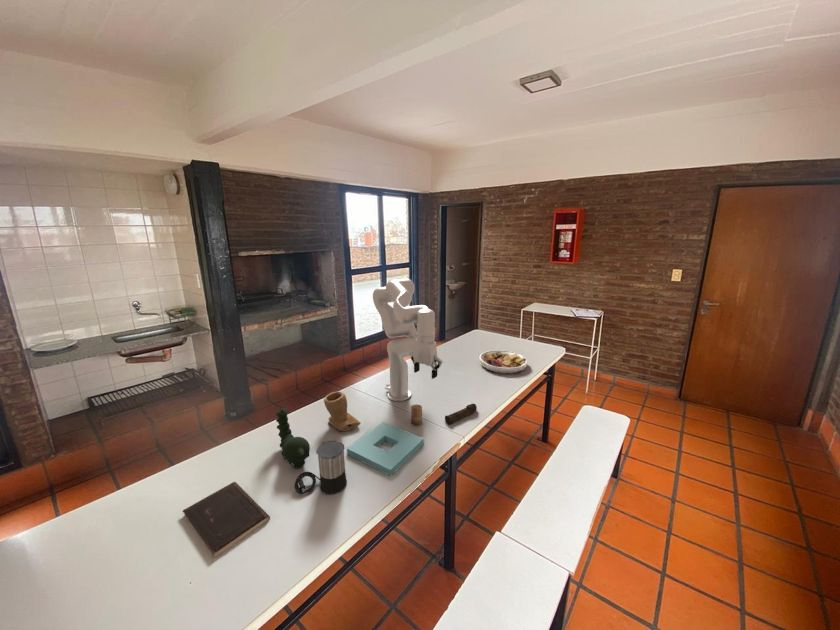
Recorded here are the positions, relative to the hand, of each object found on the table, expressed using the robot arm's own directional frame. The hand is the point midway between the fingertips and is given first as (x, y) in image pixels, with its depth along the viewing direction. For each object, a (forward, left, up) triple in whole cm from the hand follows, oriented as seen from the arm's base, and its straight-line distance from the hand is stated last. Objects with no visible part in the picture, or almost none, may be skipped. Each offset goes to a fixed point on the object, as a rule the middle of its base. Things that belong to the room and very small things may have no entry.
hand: (425, 374), depth 147 cm
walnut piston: (-3, -2, -24) cm, 24 cm away
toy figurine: (-30, -48, -24) cm, 62 cm away
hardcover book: (-24, -77, -25) cm, 85 cm away
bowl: (+7, +83, -25) cm, 86 cm away
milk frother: (-9, -53, -24) cm, 59 cm away
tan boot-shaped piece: (-31, -22, -24) cm, 45 cm away
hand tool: (+12, +14, -25) cm, 30 cm away
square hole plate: (-3, -24, -24) cm, 34 cm away
